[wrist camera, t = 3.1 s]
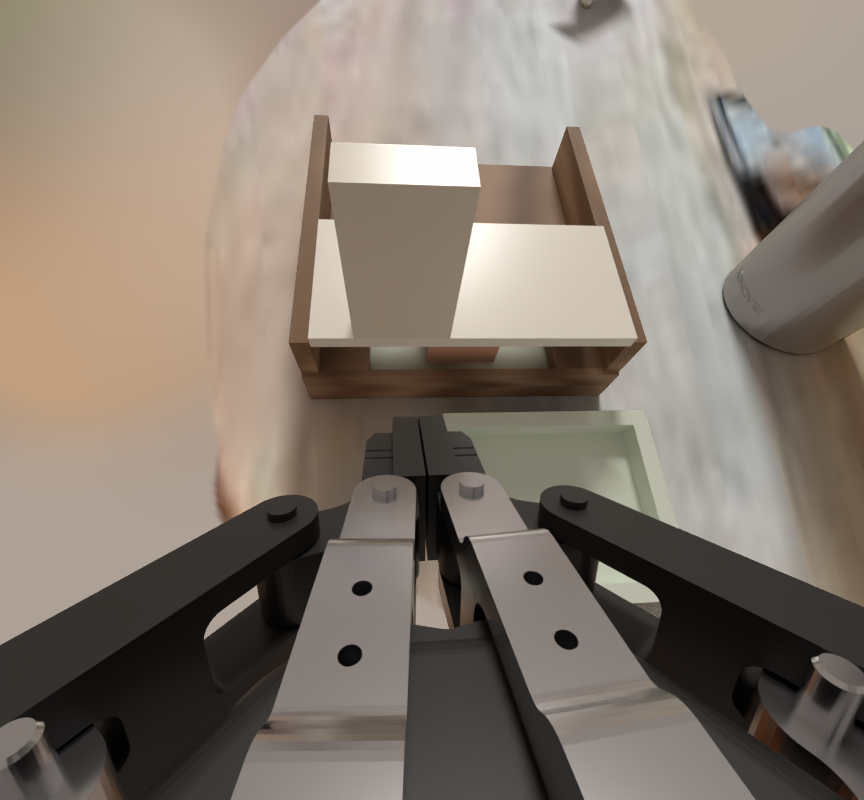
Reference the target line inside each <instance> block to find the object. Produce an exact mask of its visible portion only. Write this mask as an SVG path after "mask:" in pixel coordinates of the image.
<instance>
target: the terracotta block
mask: <svg viewBox="0 0 864 800" xmlns="http://www.w3.org/2000/svg"><path fill="white" fill-rule="evenodd" d="M426 348H427V363H442V362H494V360H495V358H496V355H497V353H498V350H499V348H500V347H426Z"/></svg>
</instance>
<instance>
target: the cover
mask: <svg viewBox="0 0 864 800" xmlns="http://www.w3.org/2000/svg"><path fill="white" fill-rule="evenodd" d="M328 187H329V193H330V199H331V205H332V211H333V217H334V220H328V219H318V230H317V241H316V252H315V264H314V275H313V286H312V297H311V308H310V319H309V330H308V341H309V343H310V346H311V347H539V346H631V345H632V344H633V343H634V342H635V341H636V340H637V339H638V337H637V334H636V331H635V328H634V324H633V321H632V318H631V315H630V311H629V308H628V305H627V301H626V298H625V295H624V292H623V288H622V285H621V282H620V278H619V275H618V272H617V269H616V265H615V262H614V259H613V256H612V252H611V249H610V246H609V242H608V239H607V236H606V233H605V229H604V226H578V225H536V224H495V223H474V218H475V213H476V208H477V203H478V198H479V193H480V188H481V185H480V178H479V171H478V164H477V157H476V150H475V148H469V147H444V146H418V145H393V144H368V143H343V142H331V148H330V160H329V172H328Z"/></svg>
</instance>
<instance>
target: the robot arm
mask: <svg viewBox="0 0 864 800" xmlns="http://www.w3.org/2000/svg"><path fill="white" fill-rule="evenodd" d="M723 292H724V299H725V302H726V305H727V307H728V309H729V311H730V313H731V315H732V316H733V317H734V319H735V320H736V321H737V322H738V324H739V325H740V326H741V327H742V328H743V329H745V330H746V331H747V332H748V333H749V334H750V335H752V336H753V337H755V338H756V339H757V340H759V341H760V342H762V343H764V344H766V345H768V346H770V347H772V348H775V349H778V350H781V351H784V352H789V353H795V354H810V353H815V352H819V351H821V350H823V349H824V348H826V347H828V346H830V345H831V344H833V343H835V342H836V341H838V340H840V339H841V338H846V337H848V336H849V335H851V334H853V333H854V332H856V331H858V330H860V329H861V328H863V327H864V141H863V142H862V143H861V144H860V145H859V146H858V147H857V148H856V149H855V150H854V151H853V152H852V153H851V154H850V155H849V156H848V157H847V158H845V159H844V160H843V161H842V162H841V163H840V164H839V165H838V166H837V167H836V168H835V169H834V170H833V171H832V172H831V173H830V174H829V175H828V176H827V177H826V178H825V179H824V180H823V181H822V182H821V183H820V184H819V185H818V186H817V187H816V188H815V189H814V190H813V191H812V192H811V193H810V194H809V195H808V196H807V197H806V198H805V199H804V200H803V201H802V202H801V203H800V204H799V205H798V206H797V207H796V208H795V209H794V210H793V211H792V212H791V213H790V214H789V215H788V216H787V217H786V218H785V219H784V220H783V221H782V222H781V223H780V224H779V225H778V226H777V227H776V228H775V229H774V230H773V231H772V232H771V233H770V234H769V235H768V236H766V237H765V238H764V239H763V240H762V241H761V242H760V243H759V244H758V245H757V246H756V247H755V248H754V249H753V250H752V251H751V252H750V253H749V254H748V255H747V256H746V257H745V258H744V259H743V260H742V261H741V262H740V263H739V264H738V265H737V266H736V267H735V268H734V269H733V270H732V271H731V272H730V273H729V275H728V276H727V278H726V279H725V283H724V286H723ZM425 541H426V549H427V557H428V560H438V562H439V589H440V593H441V597H442V602H443V606H444V610H445V614H446V618H447V622H448V626H449V629H438V628H432V627H425V626H418V625H415V623H416V622H415V621H416V579H417V577H418V574H419V561H425ZM599 561H600V562H601V563H603V564H605V565H607V566H609V567H611V568H613V569H614V570H616V571H618V572H620V573H622V574H624V575H626V576H627V577H629V578H631V579H633V580H635V581H637V582H639V583H640V584H642V585H644V586H646V587H647V588H649V589H650V590H651V591H652V592H653V593H654V594H655V595H656V596H657V598H658V600H659V601H660V604H661V607H662V613H661V617H660V619H659V618H657V617H655V616H653V615H651V614H650V613H648V612H646V611H644V610H643V609H641V608H639V607H637V606H636V605H634V604H632V603H630V602H629V601H627V600H625V599H624V598H622V597H620V596H618V595H617V594H615V593H613V592H611V591H610V590H608V589H606V588H604V587H603V586H601V585H599V584H598V583H596V582H595V581H596V576H597V570H598V564H599ZM256 585H257V588H258V595H259V599H258V600H256V601H255V602H254V603H252V604H251V605H250V606H248V607H247V608H246V609H244V610H243V611H242V612H240V613H239V614H238V615H236V616H235V617H234V618H232V619H231V620H230V621H228V622H227V623H226V624H225V625H223V626H222V627H220V628H219V629H218V630H216V631H215V632H214V633H212V634H211V635H210V636H208V637H207V638H206V639H204V634H205V631H206V629H207V627H208V625H209V623H210V622H211V620H212V619H213V618H214V617H215V616H216V615H217V614H218V613H219V612H220V611H221V610H223V609H224V608H225V607H227V606H228V605H230V604H231V603H232V602H234V601H235V600H237V599H238V598H239V597H241V596H242V595H244V594H245V593H246V592H248V591H249V590H250V589H252V588H253V587H255V586H256ZM0 800H864V607H862V606H859V605H857V604H855V603H852V602H850V601H848V600H845V599H843V598H841V597H838V596H836V595H833V594H831V593H829V592H826V591H824V590H822V589H819V588H817V587H815V586H812V585H810V584H808V583H805V582H803V581H801V580H798V579H796V578H794V577H791V576H789V575H787V574H784V573H782V572H779V571H777V570H775V569H772V568H770V567H768V566H765V565H763V564H761V563H758V562H756V561H754V560H751V559H749V558H747V557H744V556H742V555H740V554H737V553H735V552H732V551H730V550H728V549H725V548H723V547H721V546H718V545H716V544H714V543H711V542H709V541H707V540H704V539H702V538H700V537H697V536H695V535H693V534H690V533H688V532H685V531H683V530H681V529H678V528H676V527H674V526H671V525H669V524H667V523H664V522H662V521H660V520H657V519H655V518H653V517H650V516H648V515H646V514H643V513H641V512H638V511H636V510H634V509H631V508H629V507H627V506H624V505H622V504H620V503H617V502H615V501H613V500H610V499H608V498H606V497H603V496H601V495H599V494H596V493H594V492H591V491H589V490H586V489H584V488H580V487H576V486H569V485H558V486H552V487H549V488H547V489H545V490H544V491H543V492H542V493H541V495H540V502H539V503H536V502H529V501H523V500H517V499H514V498H510V497H508V496H507V494H506V492H505V491H504V489H503V487H502V486H501V484H500V483H499V482H498V481H497V480H496V479H494V478H492V477H490V476H488V475H486V473H485V471H484V469H483V466H482V464H481V461H480V459H479V457H478V456H477V452H476V450H475V449H474V445H473V442H472V440H471V438H470V437H468V436H467V435H465V434H464V433H463V432H461V431H449V432H448V431H447V428H446V425H445V421H444V418H443V416H420V417H418V422H417V417H393V433H377V434H374V435H373V436H372V437H371V438H370V439H369V440H368V441H367V443H366V452H365V460H364V467H363V475H362V482H360V483H359V484H358V485H357V486H356V487H355V489H354V491H353V494H352V498H351V501H349V502H348V503H346V504H344V505H341V506H339V507H336V508H332V509H328V510H324V511H319V512H318V507H317V504H316V503H315V502H314V501H313V500H312V499H310V498H308V497H305V496H300V495H285V496H279V497H275V498H271V499H269V500H266V501H264V502H262V503H260V504H258V505H256V506H254V507H252V508H251V509H249V510H247V511H245V512H243V513H241V514H240V515H238V516H236V517H234V518H232V519H230V520H229V521H227V522H225V523H223V524H221V525H220V526H218V527H216V528H214V529H212V530H210V531H209V532H207V533H205V534H203V535H201V536H199V537H198V538H196V539H194V540H192V541H190V542H188V543H187V544H185V545H183V546H181V547H179V548H177V549H176V550H174V551H172V552H170V553H168V554H167V555H165V556H163V557H161V558H159V559H157V560H155V561H154V562H152V563H150V564H148V565H146V566H144V567H143V568H141V569H139V570H137V571H135V572H134V573H132V574H130V575H128V576H126V577H124V578H122V579H121V580H119V581H117V582H115V583H113V584H111V585H110V586H108V587H106V588H104V589H102V590H100V591H99V592H97V593H95V594H93V595H91V596H89V597H88V598H86V599H84V600H82V601H80V602H78V603H77V604H75V605H73V606H71V607H69V608H68V609H66V610H64V611H62V612H60V613H58V614H57V615H55V616H53V617H51V618H49V619H47V620H46V621H44V622H42V623H40V624H38V625H36V626H35V627H33V628H31V629H29V630H27V631H25V632H24V633H22V634H20V635H18V636H16V637H14V638H13V639H11V640H9V641H7V642H5V643H3V644H2V645H0Z"/></svg>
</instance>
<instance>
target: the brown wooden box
mask: <svg viewBox="0 0 864 800" xmlns="http://www.w3.org/2000/svg"><path fill="white" fill-rule="evenodd" d="M331 142H332V139H331V132H330V125H329V118H328V116H322V115H314V122H313V131H312V140H311V149H310V158H309V167H308V176H307V185H306V194H305V203H304V212H303V220H302V229H301V238H300V247H299V256H298V265H297V274H296V283H295V292H294V301H293V310H292V319H291V328H290V337H289V344H290V347H291V349H292V351H293V354H294V356H295V359H296V361H297V363H298V366H299V368H300V371H301V373H302V379H303V381H304V384H305V386H306V388H307V391H308V393H309V395H310V398H311V399H339V398H418V397H498V396H578V395H600V394H601V393H602V392H603V391H604V390H605V389H606V388H607V387H608V386H609V385H610V384H611V383H612V382H613V381H614V379H615V378H616V377H617V376H618V375H619V373H618V372H619V371H620V370H621V369H622V368H623V367H624V366H625V365H626V364H627V363H628V362H629V360H630V359H631V358H632V357H633V356H634V355H635V354H636V353H637V352H638V351H639V350H640V349H641V348H642V347H643V346H644V345H645V344H646V343H647V341H646V337H645V334H644V331H643V328H642V325H641V322H640V318H639V315H638V312H637V309H636V306H635V302H634V299H633V296H632V293H631V290H630V287H629V283H628V280H627V277H626V274H625V271H624V267H623V264H622V261H621V258H620V255H619V252H618V248H617V245H616V242H615V239H614V236H613V233H612V229H611V226H610V223H609V220H608V217H607V213H606V210H605V207H604V204H603V201H602V198H601V194H600V191H599V188H598V185H597V182H596V178H595V175H594V172H593V169H592V166H591V163H590V159H589V156H588V153H587V150H586V147H585V144H584V140H583V137H582V134H581V131H580V128H579V127H566V130H565V133H564V136H563V139H562V141H561V144H560V147H559V150H558V153H557V155H556V158H555V161H554V164H553V167H539V166H512V165H484V164H478V171H479V178H480V185H481V188H480V193H479V198H478V203H477V208H476V213H475V218H474V223H495V224H536V225H578V226H604V229H605V233H606V236H607V239H608V242H609V246H610V249H611V252H612V256H613V259H614V262H615V265H616V269H617V272H618V275H619V278H620V282H621V285H622V288H623V292H624V295H625V298H626V301H627V305H628V308H629V311H630V315H631V318H632V321H633V324H634V328H635V331H636V334H637V337H638V339H637V340H636V341H635V342H634V343H633V344H632V345H631V346H539V347H500V348H499V350H498V353H497V355H496V358H495V360H494V362H442V363H427V348H426V347H311V346H310V343H309V341H308V330H309V319H310V308H311V297H312V286H313V275H314V264H315V252H316V241H317V230H318V219H328V220H334V217H333V211H332V205H331V199H330V193H329V187H328V172H329V160H330V148H331Z"/></svg>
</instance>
